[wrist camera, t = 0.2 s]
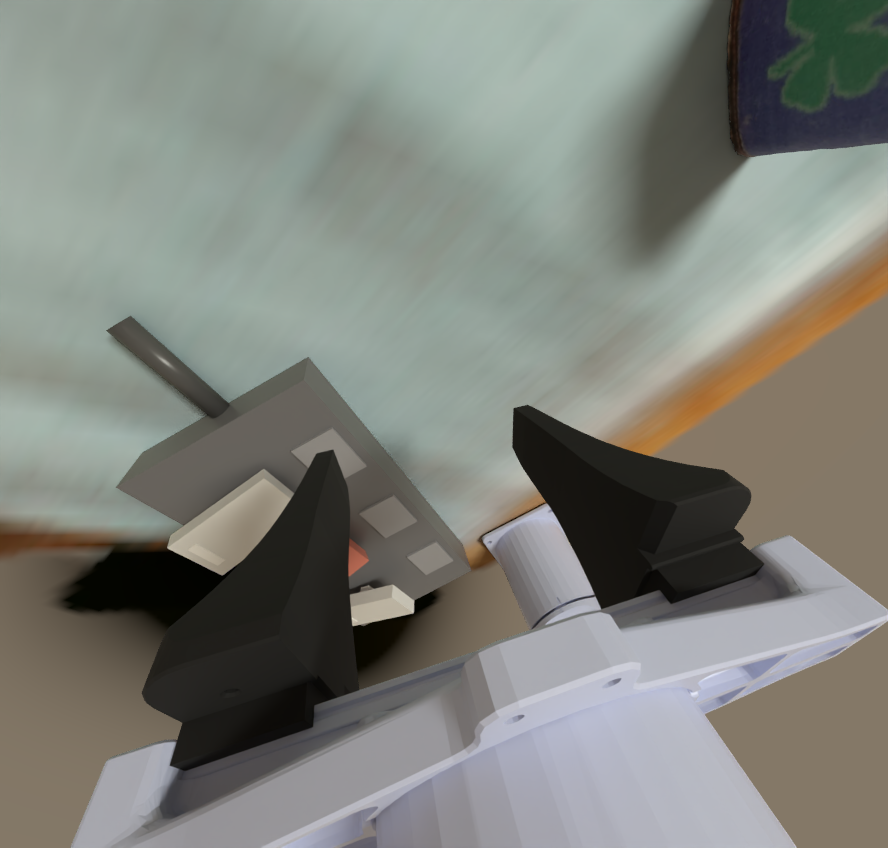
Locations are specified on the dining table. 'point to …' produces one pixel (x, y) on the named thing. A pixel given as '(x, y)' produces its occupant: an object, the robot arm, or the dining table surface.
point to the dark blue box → (807, 75)
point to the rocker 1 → (232, 524)
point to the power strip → (291, 466)
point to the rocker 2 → (379, 604)
